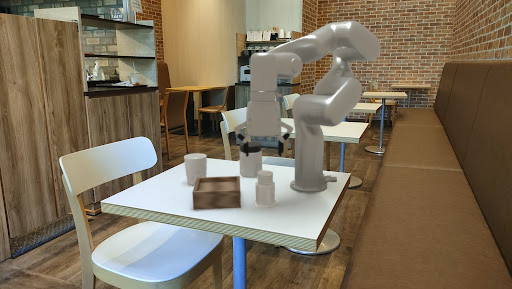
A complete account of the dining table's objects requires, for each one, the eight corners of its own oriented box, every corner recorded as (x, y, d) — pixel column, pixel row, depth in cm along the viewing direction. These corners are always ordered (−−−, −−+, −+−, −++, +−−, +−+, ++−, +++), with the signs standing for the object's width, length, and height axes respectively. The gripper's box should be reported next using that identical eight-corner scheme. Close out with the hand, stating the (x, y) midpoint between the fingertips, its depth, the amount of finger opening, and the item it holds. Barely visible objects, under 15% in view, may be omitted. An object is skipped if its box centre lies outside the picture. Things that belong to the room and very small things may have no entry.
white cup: (203, 186, 126) (202, 159, 123) (182, 185, 127) (180, 158, 125) (210, 179, 133) (209, 153, 131) (190, 178, 135) (189, 152, 132)
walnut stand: (240, 191, 120) (239, 175, 119) (240, 208, 107) (240, 190, 105) (198, 193, 120) (197, 177, 118) (193, 209, 106) (192, 192, 105)
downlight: (251, 199, 113) (250, 169, 110) (272, 197, 115) (272, 167, 112) (257, 210, 106) (257, 178, 103) (280, 207, 107) (280, 176, 105)
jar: (249, 179, 133) (249, 147, 130) (235, 174, 139) (234, 144, 136) (266, 173, 139) (266, 143, 137) (252, 169, 145) (251, 140, 142)
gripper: (291, 96, 107) (290, 152, 110) (233, 96, 106) (234, 152, 109) (295, 98, 100) (294, 158, 103) (233, 98, 99) (234, 159, 102)
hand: (263, 155), depth 106 cm, fingers open, 9 cm apart
